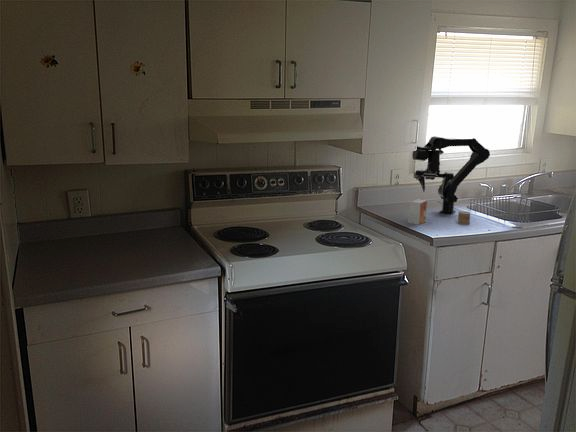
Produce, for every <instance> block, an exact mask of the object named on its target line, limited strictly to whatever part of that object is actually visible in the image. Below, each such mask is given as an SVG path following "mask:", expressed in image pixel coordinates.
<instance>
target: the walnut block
mask: <svg viewBox="0 0 576 432" xmlns="http://www.w3.org/2000/svg"><path fill="white" fill-rule="evenodd" d="M457 215H458V216H457V222H458V223H457V224H461V225H470V222H471V221H470V220H471V212H470V211H466V210H465V211H464V210H459V211H458V214H457Z"/></svg>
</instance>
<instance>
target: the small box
mask: <svg viewBox="0 0 576 432" xmlns="http://www.w3.org/2000/svg"><path fill="white" fill-rule="evenodd" d="M427 205H428V200H425V199H424V200H423V199H418V198H416V199H414V200H411V201H409V205H408V206H409V207H408V209H409V210H408V221H407V223H408V224H411V225H418V226H419V225H421V224H423V223H426V219H427V218H426V217H427Z"/></svg>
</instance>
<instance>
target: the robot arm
mask: <svg viewBox="0 0 576 432" xmlns="http://www.w3.org/2000/svg"><path fill="white" fill-rule="evenodd" d="M416 146H417V150H416V151H414V150H413V151H412V160H414V161H422V162H425V161H426V160H427V166H426V168H424V169H423V168H422V169H420V170H416V171H415V172H414V173H413V179H415V180H417V181H418V182H419V184H420V185H421V189H422V192H425V190H426V182H425V180H432V181H433V180H435V179H436V178H442V180H441V182H442V183H441V184H440V185H438V187H439V188H438V189H437V193H438V195H439V196H440V200H442V206H441V207H442V208H441V209H440V210H439V213H444V214H449V215H453V214H455V213H456V210H454V209H455V203H457V202H458V199H459V198H458V197H457V196H456V194H455V193H456V192H457V189H458V186H460V184H461V183H462V182H463V181H464V180H465V179H466V178H467V177H468V176H469V175H470V173H471V172H473V170H474V169H475V168H476V167H477V166H478V165H480V164H482V163H484V162H485V161H487V160H488V159H489V158H490V157H491V156H490V154H491V153H490V150H489V149H488V148H485V147H484V146H483V145H482V144H481V143H480V142H479V141H478V140H477V139H476V138H474V137H458V138H457V137H456V138H452V137H451V138H448V137H441V136H435V135H434V136H431V137H430V139H429V140H428V142H427V143H426V144H425V145H424V146H423V147H422V146H418V145H416ZM448 147H469V149H470V151H471V152H472V153H471V154H470V157H469V159H468V161H467V162H466V163H465V164H464V165H463V166H462V167H461V168H460V169H459V170H458V171H457V172H456V174H455V175H454V172H450V171H445V172H444V173H441V170H440V165H441V162H440V160H441V159H440V158H441V156H440V155H442V154H444V153H445V152H444V151H443V150H442V149H445V148H448Z"/></svg>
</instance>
